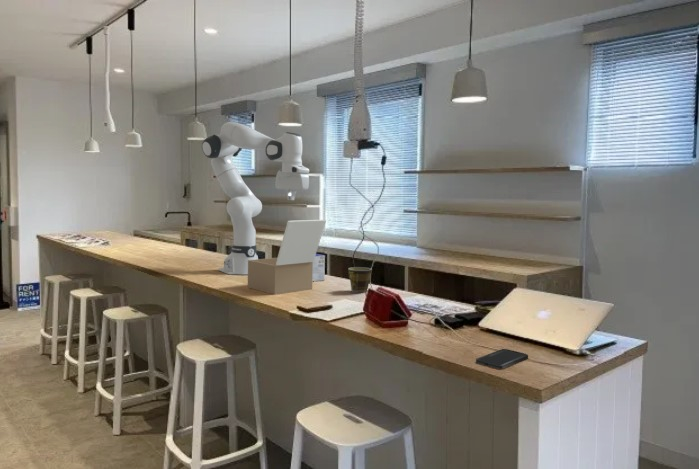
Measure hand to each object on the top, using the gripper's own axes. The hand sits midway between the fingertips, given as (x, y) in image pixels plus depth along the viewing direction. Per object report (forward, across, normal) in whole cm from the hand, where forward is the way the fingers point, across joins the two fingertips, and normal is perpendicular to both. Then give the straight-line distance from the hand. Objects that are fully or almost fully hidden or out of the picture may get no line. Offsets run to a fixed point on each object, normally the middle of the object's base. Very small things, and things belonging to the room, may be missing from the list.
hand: (291, 200), depth 244 cm
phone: (+37, +122, -23) cm, 130 cm away
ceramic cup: (+38, +32, +12) cm, 51 cm away
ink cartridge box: (+39, -2, +16) cm, 42 cm away
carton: (+38, +5, -9) cm, 40 cm away
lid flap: (+17, +19, -9) cm, 27 cm away
